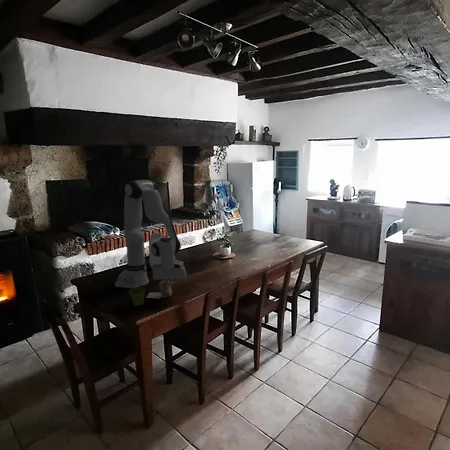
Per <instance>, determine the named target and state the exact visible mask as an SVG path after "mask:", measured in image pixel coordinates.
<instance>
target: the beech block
mask: <svg viewBox="0 0 450 450" xmlns="http://www.w3.org/2000/svg"><path fill="white" fill-rule="evenodd" d="M158 285H159V290H160V293H161V294H162V297H163V299H164V298H170V297H171V296H172V294H173V290H172V287H171V286H169V285H168V282H167V281H166V279H164V280H161V281H160V282H159V284H158ZM162 297H161V298H162Z"/></svg>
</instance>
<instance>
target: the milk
mask: <svg viewBox="0 0 450 450" xmlns="http://www.w3.org/2000/svg"><path fill="white" fill-rule="evenodd" d="M161 238H163V236H162V234H161V232H153V233H151V235H150V238H149V240H148V251H149V254H148V255H149V256H148V257H149V266H150V267H151V268H152V266H153V265H155V264H156V265H158V264H161V257H156V256H155V255H153V254H152V250H151V246H152V244H153V243H154V242H156V241H159V240H160V239H161Z"/></svg>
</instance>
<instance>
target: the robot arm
mask: <svg viewBox="0 0 450 450" xmlns="http://www.w3.org/2000/svg"><path fill="white" fill-rule="evenodd" d="M123 190H124V191H123V192H124V193H125V194H124V203H123V204H124V205H123V206H124V209H123V210H124V221H123V224H124V225H123V235H124V238H125V240H126V255H127V256H126V258H127V263H126V264H125V266H124V270H122V272H121V273H120V274H119V275H118V278H117V280H116V281H115V283H114V287H116V288H125V289H132V288H135V287H143V286H145V285H147V284H149V283H150V280H149V277H148V274H147V262H146V259H145V236H144V233H143V231H142V220H143V206H144V212H145V216H146V218H147V219H149V220H150V221H152V222H155V223H160V224H162V225H164V227H165V229H166V231H167V235H168V236H164V237H163V236H162V238H161V239H160V240H159V241H156V242H154V243H153V244H152V246H151V250H152V254H153V255H155V256H156V257H161V264H158V265H156V264H155V265H153V266H152V267H151V271H152V279H153V280H166V281H167V282H168V285H169V286H173V282H174V280H185V279H186V277H187V271H186V270H187V269H186V267H185V265H184V261H181V260H178V259H176V256H175V255H176V254H178V253H179V252H180V250H181V248H182V244H181V242H180V240H179V239H180V238H178V235H177V233H176V232H177V231H176V228H175V226H174V223H173V221H172V218H171V216H170V214H169V213H167V212H166V210H165V209H164V205H163V202H162V197H161V194H160V192H159V191H158V190H159V189H158V184H157V182H156V181H155V180H152V179H140V180H139V179H138V180H130V181H128V182H126V183H125V185H124V189H123ZM142 203H143V204H142Z"/></svg>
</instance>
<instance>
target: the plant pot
mask: <svg viewBox="0 0 450 450" xmlns="http://www.w3.org/2000/svg"><path fill="white" fill-rule="evenodd" d="M128 293H129V294H130V297H131V298H130V299H131V301H132V304H133V306H135V307H139V306H143V305H144V303H145V293H146V288H145V287H143V286H139V287H135V288H129V290H128Z"/></svg>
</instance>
